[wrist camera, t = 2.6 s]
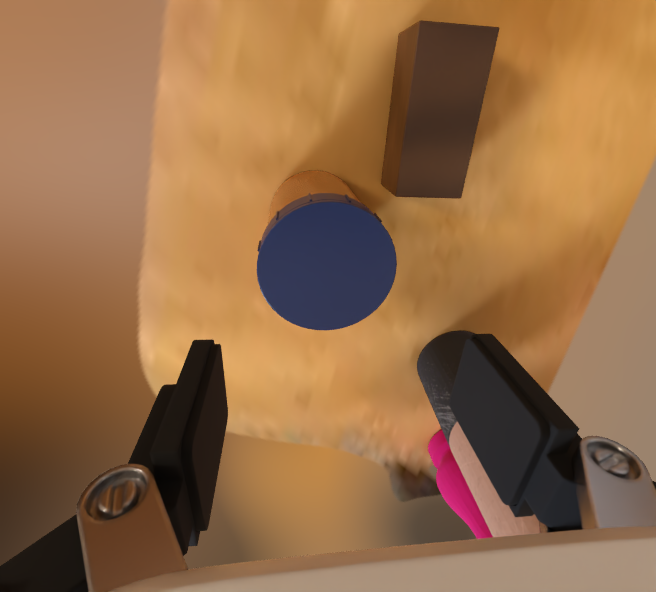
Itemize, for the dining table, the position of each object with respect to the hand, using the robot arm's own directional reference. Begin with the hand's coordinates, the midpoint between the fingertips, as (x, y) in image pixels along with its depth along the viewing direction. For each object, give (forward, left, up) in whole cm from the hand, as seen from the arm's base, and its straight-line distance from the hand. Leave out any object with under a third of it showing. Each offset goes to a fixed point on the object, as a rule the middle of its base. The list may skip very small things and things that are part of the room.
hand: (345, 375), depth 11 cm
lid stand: (-7, +7, -18) cm, 20 cm away
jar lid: (0, 0, -8) cm, 8 cm away
